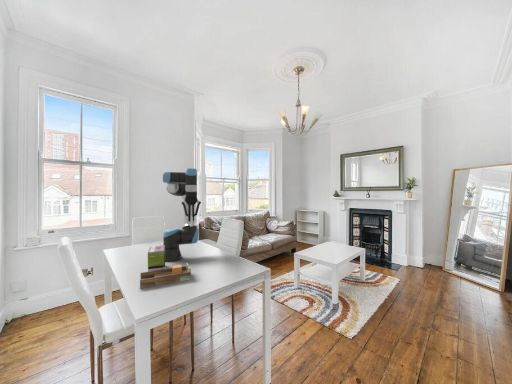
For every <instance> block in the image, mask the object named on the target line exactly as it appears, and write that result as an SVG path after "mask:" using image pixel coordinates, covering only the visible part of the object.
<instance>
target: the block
mask: <svg viewBox="0 0 512 384" xmlns="http://www.w3.org/2000/svg"><path fill="white" fill-rule="evenodd" d="M171 268H172V273H173V274H178V273H182V265H181V264H176V265H175V264H174V265H172V267H171Z"/></svg>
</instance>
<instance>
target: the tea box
mask: <svg viewBox="0 0 512 384" xmlns="http://www.w3.org/2000/svg"><path fill="white" fill-rule="evenodd" d="M162 269H166V261H165V245H153V246H149V249H148V252H147V272H149V271H155V270H162Z"/></svg>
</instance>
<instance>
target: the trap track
mask: <svg viewBox="0 0 512 384" xmlns="http://www.w3.org/2000/svg"><path fill="white" fill-rule="evenodd" d="M181 267H182V273H178V274H173V273H172V267H169V268H165V269H162V270H155V271H149V272H148V271H144V272H140V279H139V289H144V288H150V287H157V286H161V285H168V284H172V283H177V282H178V283H179V282H185V281H188V280H191V276H192V275H191V274H192V273H191V271H192V270H191V267H190V265H189V263H188V262H185V265H183V266H182V265H181Z"/></svg>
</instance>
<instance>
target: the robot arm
mask: <svg viewBox="0 0 512 384" xmlns="http://www.w3.org/2000/svg"><path fill="white" fill-rule="evenodd" d="M162 182H163V183H164V184H166V188H165V189H166V191H167V192H168V193H169V194H170V195H172V196H174V197H181V199H182V200H183V201H181V204H182V208H183V226H182V227H181V229H180V227H172V228H168V229H166V230H164V231H163V234H162V235H163V236H162V238H163V241H162V243H163V245H165V263H166V262H176V261H179V260H181V259H182V257H183V256H182V252H181V249H180V246H181V245H193V244H197V243H198V242H199V236H200V235H199V234H200V233H199V232H200V231H199V230H200V229H199V228H198V226H197V225H196V218H195V217H196V216H198V213H199V208H200V205H201V204H202V202H201V201H200V200H199V199H198V186H197V185H198V170H197V169H196V168H193V167H192V168H191V167H190V168H186V169H185V172H181V171H180V172H178V171H177V172H175V171H174V172H173V171H164V172H162Z"/></svg>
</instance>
